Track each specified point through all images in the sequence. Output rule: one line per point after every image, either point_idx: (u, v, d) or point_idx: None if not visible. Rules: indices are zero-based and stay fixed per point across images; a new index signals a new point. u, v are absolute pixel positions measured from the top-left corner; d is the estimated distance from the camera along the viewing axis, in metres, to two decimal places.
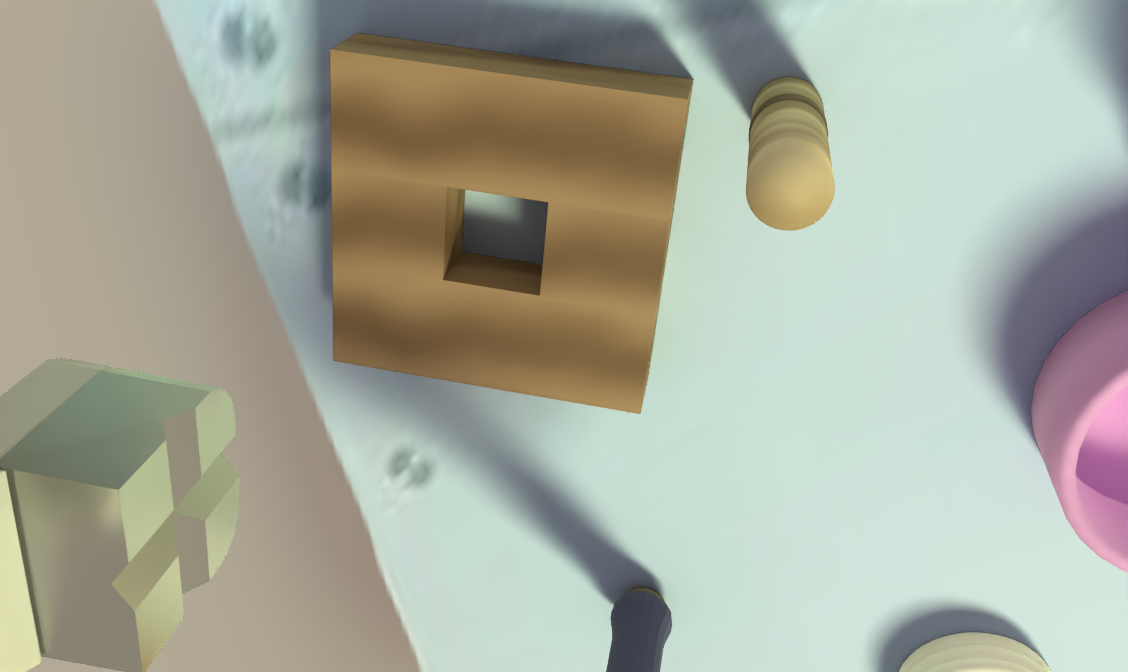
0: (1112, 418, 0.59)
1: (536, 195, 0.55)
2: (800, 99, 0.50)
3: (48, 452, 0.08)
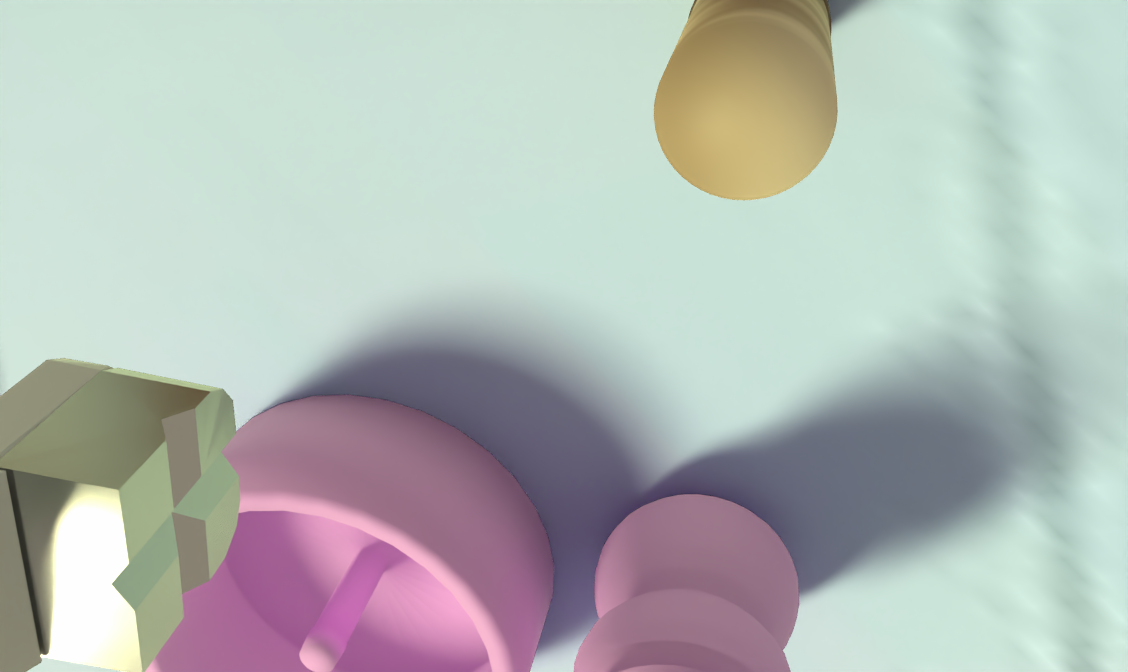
0: None
1: None
2: None
3: (48, 452, 0.08)
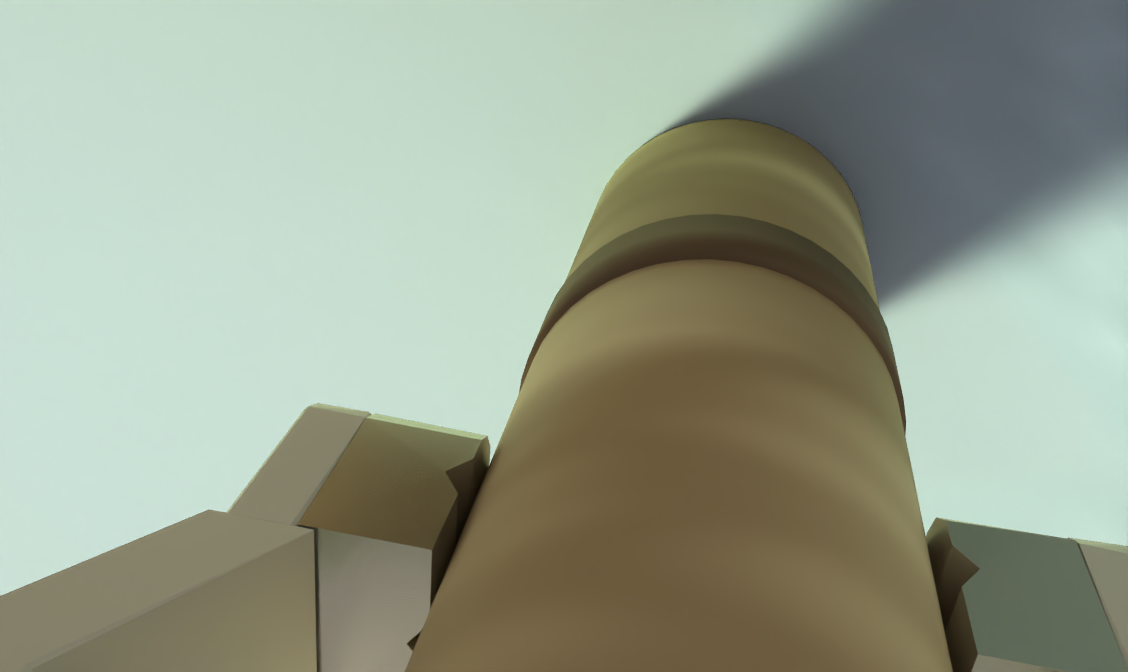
0: None
1: None
2: None
3: (348, 509, 0.07)
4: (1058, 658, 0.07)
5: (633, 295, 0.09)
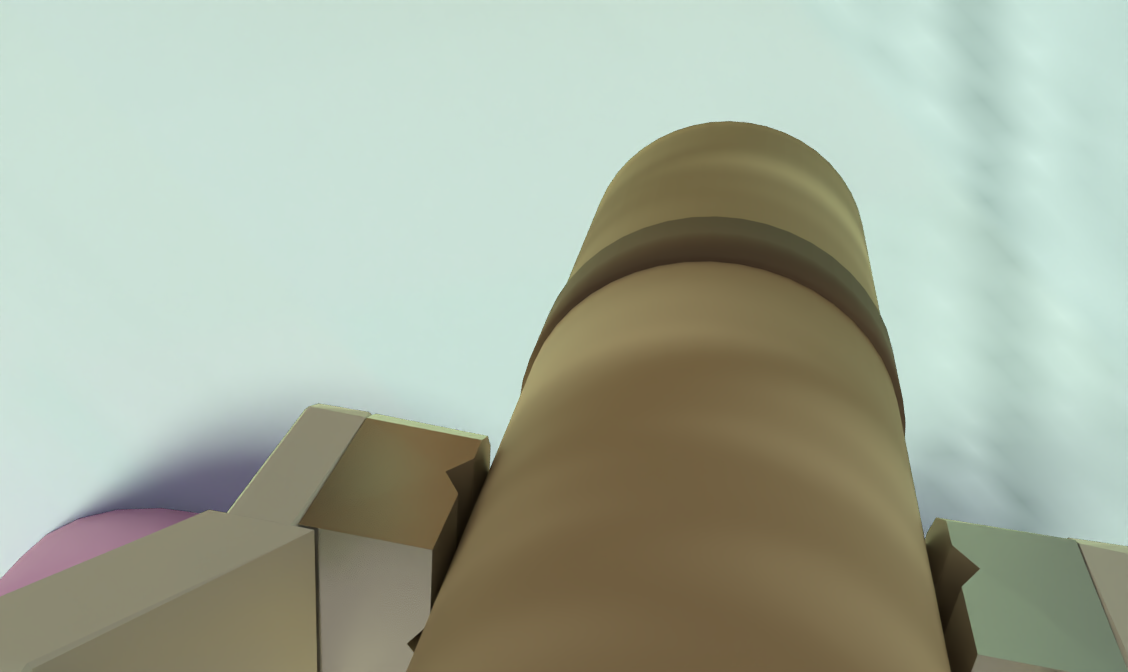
0: None
1: None
2: None
3: (348, 509, 0.07)
4: (1057, 658, 0.07)
5: (634, 297, 0.09)
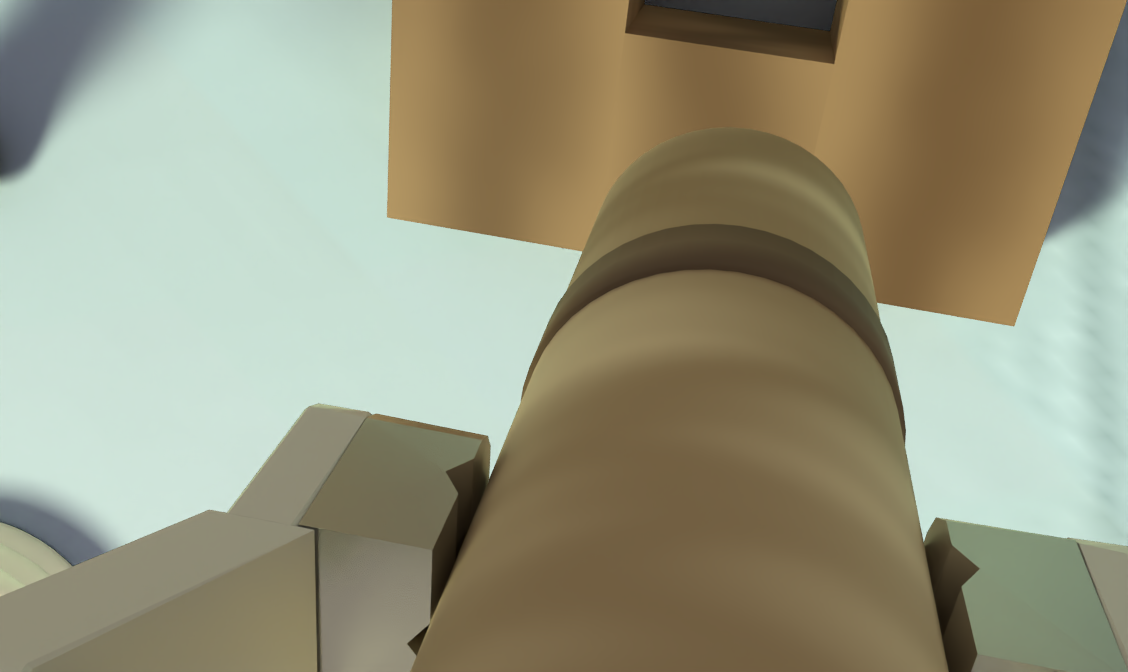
0: None
1: (850, 39, 0.27)
2: None
3: (348, 509, 0.07)
4: (1058, 659, 0.07)
5: (634, 305, 0.09)
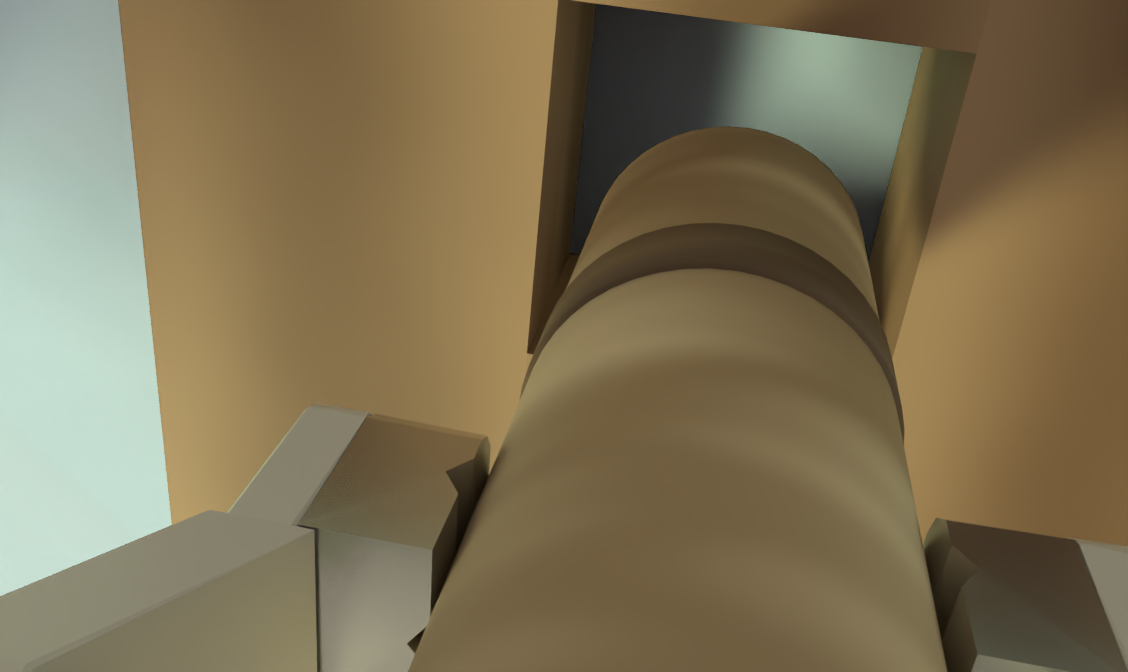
0: None
1: (906, 378, 0.16)
2: None
3: (349, 509, 0.07)
4: (1058, 658, 0.07)
5: (633, 304, 0.09)
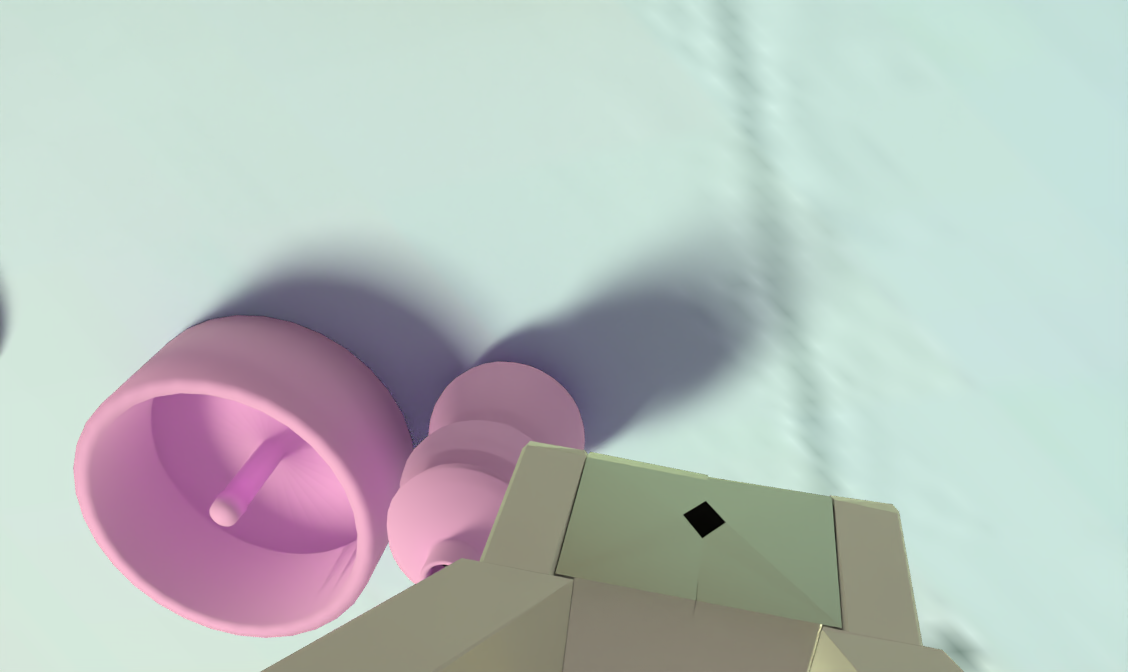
0: None
1: None
2: None
3: (599, 557, 0.07)
4: (775, 604, 0.07)
5: None
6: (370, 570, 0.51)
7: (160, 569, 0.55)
